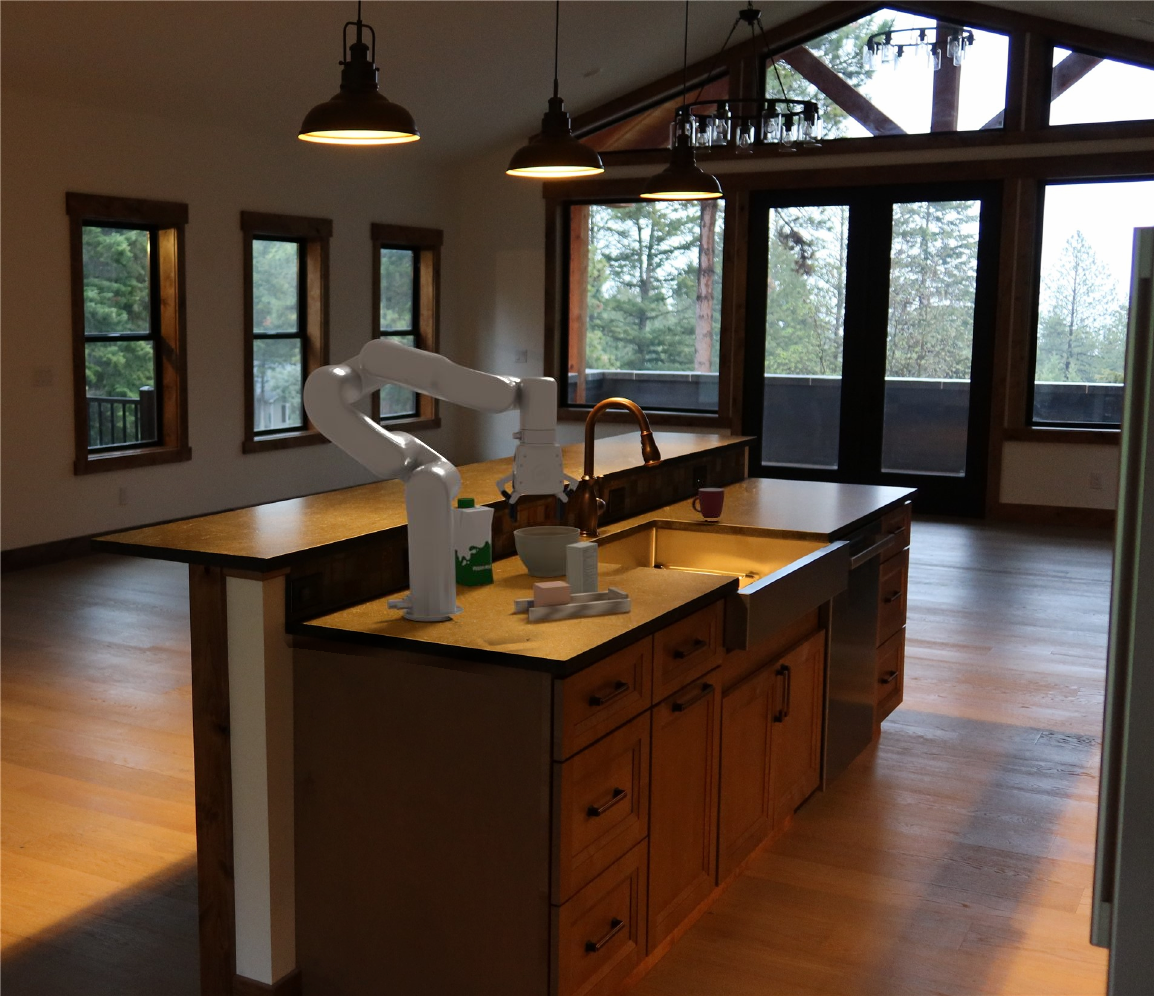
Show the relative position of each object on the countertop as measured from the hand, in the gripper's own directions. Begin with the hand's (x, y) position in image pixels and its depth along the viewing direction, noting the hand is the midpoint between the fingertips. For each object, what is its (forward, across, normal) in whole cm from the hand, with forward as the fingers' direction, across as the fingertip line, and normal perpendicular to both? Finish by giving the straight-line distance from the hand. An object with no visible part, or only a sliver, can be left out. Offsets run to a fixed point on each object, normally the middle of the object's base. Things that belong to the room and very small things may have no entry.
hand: (537, 521), depth 248 cm
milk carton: (+21, -5, +39) cm, 44 cm away
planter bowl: (+20, +14, +44) cm, 51 cm away
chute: (+20, +7, -2) cm, 21 cm away
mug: (+19, +85, +113) cm, 143 cm away
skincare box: (+20, +14, +15) cm, 29 cm away
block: (+19, +3, -2) cm, 19 cm away
